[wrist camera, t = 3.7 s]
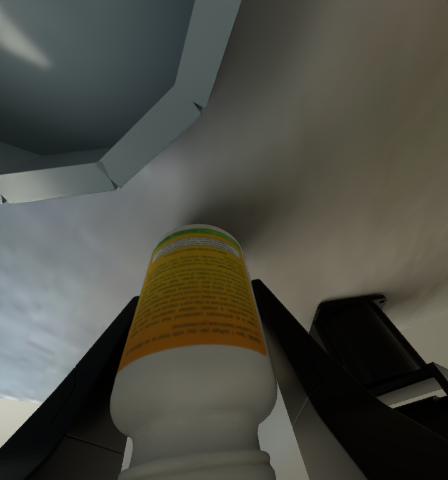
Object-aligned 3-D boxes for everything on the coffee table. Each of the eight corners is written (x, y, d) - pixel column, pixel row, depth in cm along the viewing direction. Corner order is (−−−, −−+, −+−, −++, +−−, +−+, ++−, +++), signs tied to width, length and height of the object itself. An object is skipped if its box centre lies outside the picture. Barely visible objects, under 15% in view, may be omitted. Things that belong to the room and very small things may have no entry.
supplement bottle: (133, 240, 11) (-42, 625, 3) (226, 206, 10) (315, 593, 2) (179, 296, 14) (152, 551, 6) (252, 273, 13) (324, 528, 5)
